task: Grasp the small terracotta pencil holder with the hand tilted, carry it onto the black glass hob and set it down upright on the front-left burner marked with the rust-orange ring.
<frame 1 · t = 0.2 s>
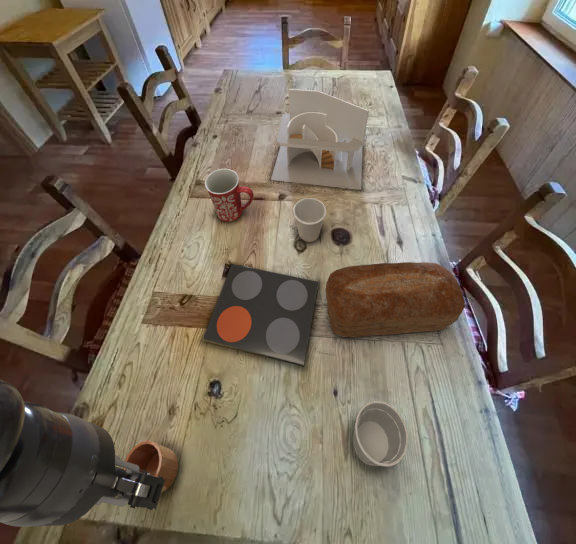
hand: (120, 480, 43), 21 cm above the table, tool pointing down, fingers open, 8 cm apart
architectural model: (318, 161, 113), on the table
mug: (235, 213, 98), on the table
cup: (370, 442, 61), on the table
stove: (264, 311, 78), on the table
dixie cup: (309, 233, 93), on the table
terracotta pencil holder: (161, 470, 59), on the table
bread: (385, 311, 77), on the table
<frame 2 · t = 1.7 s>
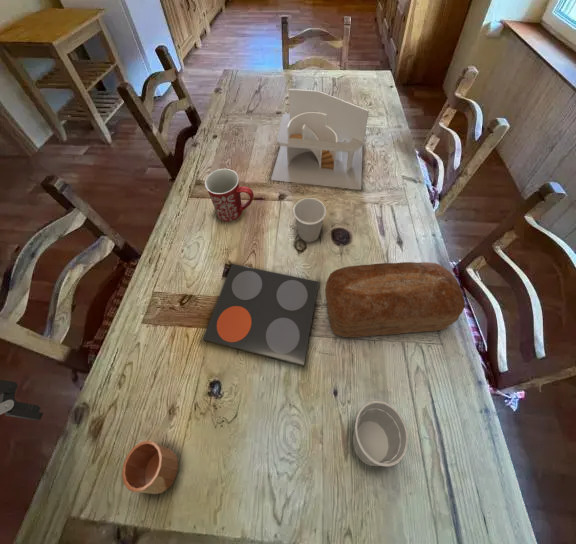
hand: (20, 459, 42), 25 cm above the table, tool tilted 45°, fingers open, 8 cm apart
nothing on the table moved.
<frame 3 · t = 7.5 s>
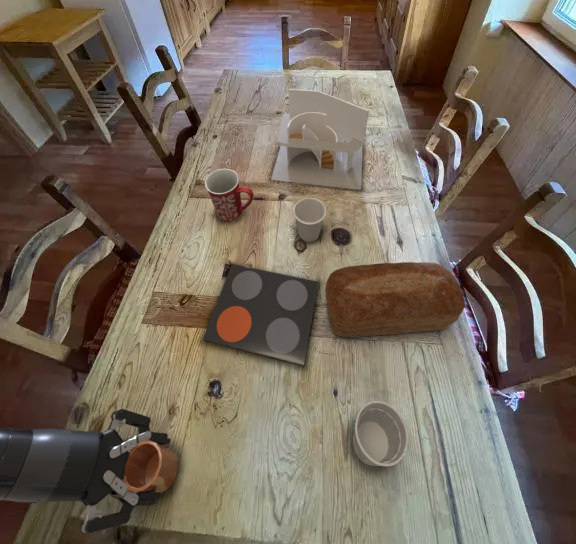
hand: (163, 467, 56), 5 cm above the table, tool tilted 45°, fingers closed on terracotta pencil holder, 6 cm apart
terracotta pencil holder: (161, 470, 59), on the table, touching gripper
everything else where it was.
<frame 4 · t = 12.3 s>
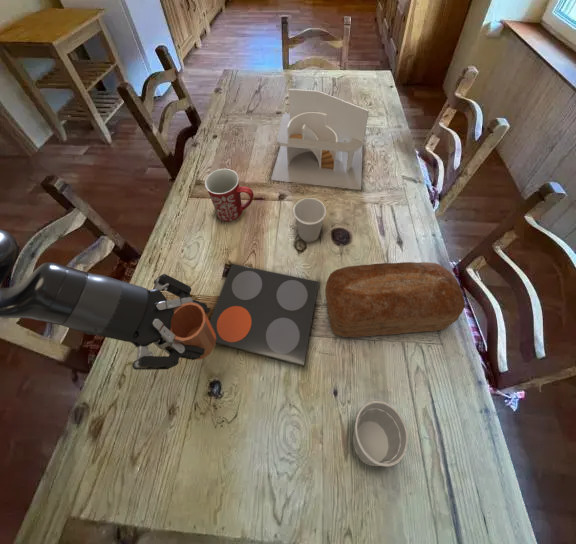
hand: (204, 331, 58), 18 cm above the table, tool tilted 45°, fingers closed on terracotta pencil holder, 6 cm apart
terracotta pencil holder: (199, 341, 61), point 14 cm above the table, touching gripper
everything else where it was.
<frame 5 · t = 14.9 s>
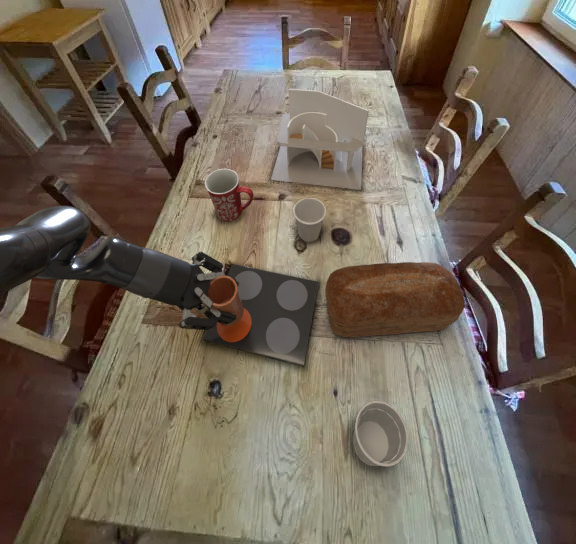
hand: (234, 301, 67), 13 cm above the table, tool tilted 45°, fingers closed on terracotta pencil holder, 6 cm apart
terracotta pencil holder: (229, 311, 70), point 8 cm above the table, touching gripper
everything else where it was.
when the fingers open (6 cm above the table, at t = 17.2 s): terracotta pencil holder stays where it is, resting on stove.
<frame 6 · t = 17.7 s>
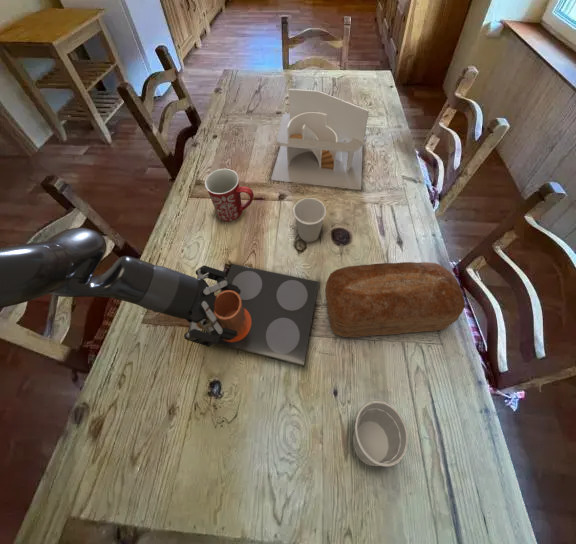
hand: (236, 313, 71), 7 cm above the table, tool tilted 45°, fingers open, 8 cm apart
terracotta pencil holder: (233, 323, 75), point 2 cm above the table, touching stove
everything else where it was.
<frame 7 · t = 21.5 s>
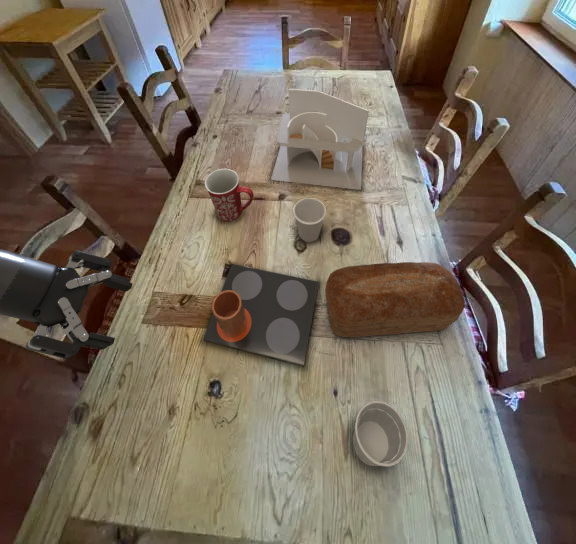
hand: (121, 313, 54), 25 cm above the table, tool tilted 45°, fingers open, 8 cm apart
nothing on the table moved.
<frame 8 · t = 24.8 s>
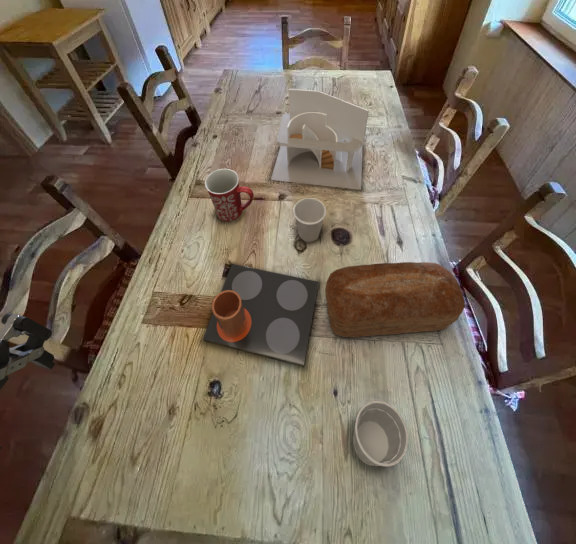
hand: (22, 403, 41), 30 cm above the table, tool pointing down, fingers open, 8 cm apart
nothing on the table moved.
at the end: terracotta pencil holder 0.1 cm from the target spot on the stove, point 1.6 cm above the stove's base; terracotta pencil holder tilted 0° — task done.
